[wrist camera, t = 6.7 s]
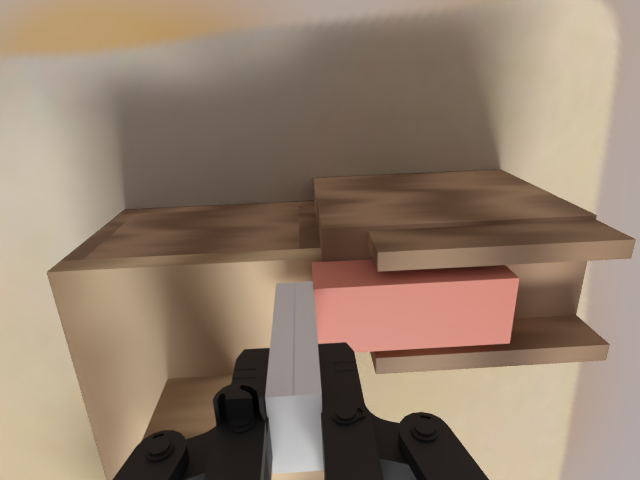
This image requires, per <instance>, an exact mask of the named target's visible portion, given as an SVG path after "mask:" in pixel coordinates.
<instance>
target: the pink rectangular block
mask: <svg viewBox="0 0 640 480" xmlns="http://www.w3.org/2000/svg"><path fill="white" fill-rule="evenodd" d="M312 281H313V288H314V301H315V314H316V327H317V340H318V344H325V343H341V342H346V343H347V344H348V345H349V346H350V347H351V348H352V349H353V351H354V353H355V352H372V351H389V350H406V349H423V348H440V347H457V346H474V345H491V344H508V343H510V339H511V332H512V325H513V318H514V312H515V305H516V298H517V291H518V285H519V277H518V276H517V275H516V274H514V273H513V272H512V271H511V270H510V269H509V268H508V267H507V266H506V265H495V266H476V267H457V268H437V269H418V270H399V271H380V272H378V271H377V269H376V266H375V264H374V261H373V259H367V260H348V261H328V262H312Z"/></svg>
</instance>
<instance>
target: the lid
mask: <svg viewBox="0 0 640 480" xmlns="http://www.w3.org/2000/svg"><path fill="white" fill-rule="evenodd" d="M312 262H322V253H321V248H309V249H289V250H269V251H249V252H229V253H209V254H189V255H169V256H149V257H129V258H109V259H89V260H69V261H60V262H59V263H57V264H56V265H55V266H54V267H52V268H51V269H50V270H49V271H47V275H48V278H49V282H50V285H51V289H52V292H53V296H54V299H55V303H56V306H57V309H58V313H59V316H60V320H61V323H62V327H63V330H64V334H65V337H66V341H67V344H68V348H69V351H70V355H71V358H72V361H73V365H74V368H75V372H76V375H77V379H78V382H79V386H80V389H81V393H82V396H83V400H84V403H85V406H86V410H87V413H88V417H89V420H90V424H91V427H92V431H93V434H94V438H95V441H96V445H97V448H98V452H99V455H100V458H101V462H102V465H103V469H104V472H105V476H106V479H107V480H113V478H114V477H115V475H116V474H117V473H118V471H119V470H120V468H121V467H122V466H123V464H124V463H125V461H126V460H127V459H128V457H129V456H130V454H131V453H132V452H133V450H134V449H135V447H136V446H137V445H138V444H139V443H140V442H141V441H142V440H143V439H144V438H146V437H148V436H149V435H151V434H153V433H156V432H159V431H162V430H174V431H177V432H180V433H181V434H182V435H183V436H184V437H185V439H188V438H191V437H194V436H198V435H200V434H203V433H205V432H207V431H209V430H211V429H212V428H214V427H215V426H216V419H215V413H214V406H213V398H214V396H215V395H216V393H217V392H218V391H220V390H221V389H222V388H223V387H225V386H227V385H230V384H231V381H232V376H233V372H234V367H235V362H236V359H237V357H238V356H239V355H240V354H241V352H242V351H243V350H244V349H257V348H270V341H271V331H272V321H273V311H274V300H275V290H276V283H290V282H308V281H312ZM271 479H272V480H324V470H322V471H308V472H293V473H278V474H273V470H272V477H271Z"/></svg>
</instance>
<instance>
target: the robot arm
mask: <svg viewBox="0 0 640 480" xmlns="http://www.w3.org/2000/svg"><path fill="white" fill-rule="evenodd" d="M213 406H214V413H215V419H216V426H215V427H214V428H212V429H211V430H209V431H207V432H205V433H203V434H200V435H198V436H194V437H191V438H188V439H185V437H184V436H183V435H182V434H181V433H180V432H177V431H174V430H162V431H159V432H156V433H153V434H151V435H149V436H148V437H146V438H144V439H143V440H142V441H141V442H140V443H139V444H138V445H137V446H136V447H135V449H134V450H133V452H132V453H131V454H130V456H129V457H128V459H127V460H126V461H125V463H124V464H123V466H122V467H121V468H120V470H119V471H118V473H117V474H116V475H115V477H114V478H113V480H272V479H271V477H272V470H273V474H278V473H293V472H308V471H322V470H324V480H489V479H488V478H487V476H486V475H485V474H484V473H483V471H482V470H481V469H480V467H479V466H478V465H477V463H476V462H475V461H474V459H473V458H472V457H471V455H470V454H469V453H468V451H467V450H466V449H465V447H464V446H463V445H462V443H461V442H460V441H459V440H458V438H457V437H456V436H455V434H454V433H453V432H452V430H451V429H450V428H449V426H448V425H447V424H446V423H445V422H444V421H443V420H442V419H441V418H439V417H437V416H435V415H433V414H429V413H424V412H419V413H412V414H409V415H407V416H405V417H404V418H403V419H402V421H401V422H400V423H395V422H390V421H386V420H383V419H380V418H378V417H376V416H375V415H373V414H372V413H371V412H370V411H369V410H368V409H367V407H366V405H365V403H364V398H363V394H362V389H361V384H360V379H359V374H358V369H357V364H356V359H355V354H354V351H353V349H352V348H351V347H350V346H349V345H348V344H347V343H346V342H341V343H325V344H318V340H317V327H316V314H315V301H314V288H313V281H308V282H290V283H276V290H275V300H274V311H273V321H272V331H271V341H270V348H257V349H244V350H243V351H242V352H241V354H240V355H239V356H238V357H237V359H236V362H235V367H234V372H233V376H232V381H231V384H230V385H227V386H225V387H223V388H222V389H221V390H220V391H218V392H217V393H216V395H215V396H214V398H213Z"/></svg>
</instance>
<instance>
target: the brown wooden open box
mask: <svg viewBox="0 0 640 480" xmlns="http://www.w3.org/2000/svg"><path fill="white" fill-rule="evenodd" d="M313 181H314V201H301V202H279V203H257V204H236V205H214V206H192V207H171V208H149V209H127V210H124V211H122V212H121V213H120V214H119V215H117V216H116V217H115V218H114V219H112V220H111V221H110V222H109V223H107V224H106V225H105V226H104V227H102V228H101V229H100V230H99V231H97V232H96V233H95V234H94V235H92V236H91V237H90V238H89V239H87V240H86V241H85V242H84V243H82V244H81V245H80V246H79V247H77V248H76V249H75V250H74V251H72V252H71V253H70V254H69V255H67V256H66V257H65V258H64V259H62V260H61V261H69V260H89V259H109V258H129V257H149V256H169V255H189V254H209V253H229V252H249V251H269V250H289V249H309V248H321V253H322V262H328V261H348V260H367V259H373V261H374V264H375V266H376V269H377V271H378V272H380V271H399V270H418V269H437V268H457V267H476V266H495V265H506V266H507V267H508V268H509V269H510V270H511V271H512V272H513V273H514V274H516V275H517V276H518V277H519V285H518V291H517V298H516V305H515V312H514V318H513V325H512V332H511V339H510V343H508V344H491V345H474V346H457V347H440V348H423V349H406V350H389V351H372V352H370V353H371V357H372V361H373V365H374V369H375V372H376V374H386V373H402V372H419V371H435V370H452V369H468V368H485V367H501V366H518V365H534V364H551V363H568V362H584V361H599V360H600V361H601V360H606V358H607V354H608V350H609V346H610V345H609V344H608V343H607V342H606V341H605V340H604V339H603V338H602V337H601V336H599V335H598V334H597V333H596V332H595V331H594V330H592V329H591V328H590V327H589V326H588V325H587V324H586V323H584V322H583V321H582V320H581V319H580V318H579V317H578V316H576V313H577V308H578V303H579V298H580V293H581V289H582V284H583V279H584V274H585V269H586V265H587V261H591V260H609V259H628V258H631V257H632V253H633V249H634V244H635V239H634V238H632V237H630V236H628V235H626V234H624V233H621V232H620V231H618V230H616V229H614V228H612V227H609V226H608V225H606V224H604V223H601V222H600V221H598V220H596V216H597V215H595V214H593V213H591V212H589V211H587V210H585V209H582V208H580V207H578V206H576V205H574V204H572V203H570V202H568V201H566V200H564V199H562V198H559V197H557V196H555V195H553V194H551V193H549V192H547V191H545V190H543V189H541V188H539V187H536V186H534V185H532V184H530V183H528V182H526V181H524V180H522V179H520V178H518V177H516V176H513V175H511V174H509V173H507V172H505V171H503V170H480V171H457V172H435V173H412V174H390V175H367V176H345V177H322V178H313Z"/></svg>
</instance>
